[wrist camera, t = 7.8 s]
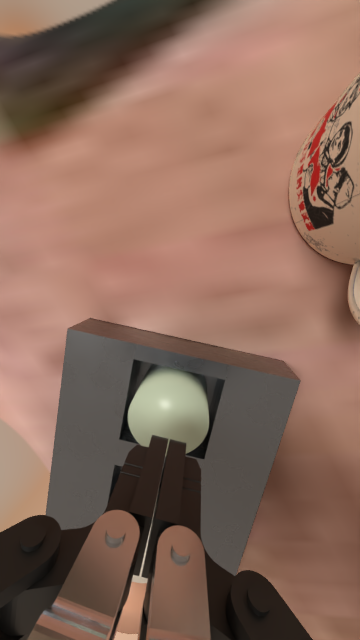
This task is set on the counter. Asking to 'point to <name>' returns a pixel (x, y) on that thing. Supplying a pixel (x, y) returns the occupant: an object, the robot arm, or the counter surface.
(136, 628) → the orange rounded piece
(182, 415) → the sage button
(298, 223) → the teacup with lid
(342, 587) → the counter surface
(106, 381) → the panel
